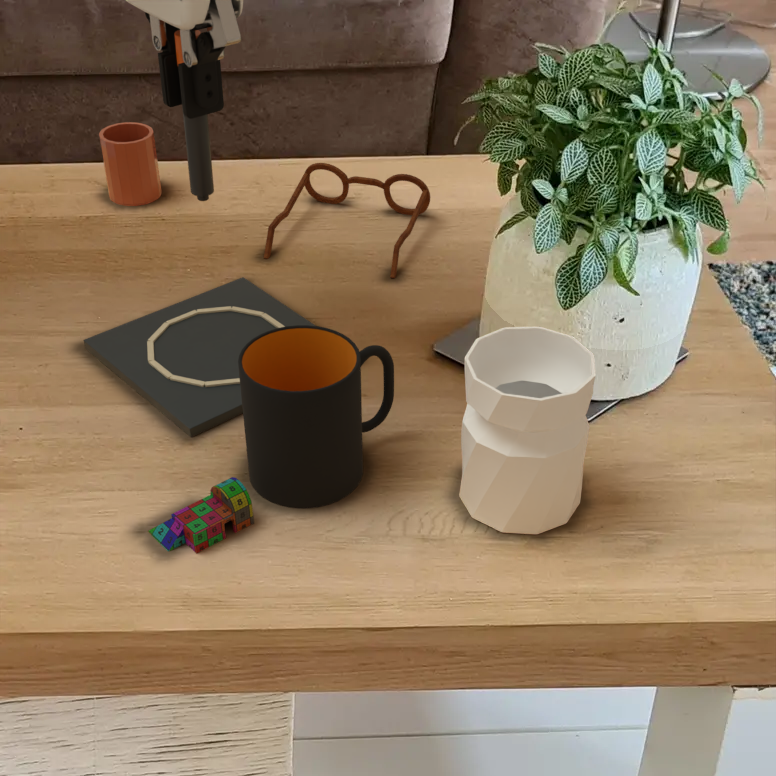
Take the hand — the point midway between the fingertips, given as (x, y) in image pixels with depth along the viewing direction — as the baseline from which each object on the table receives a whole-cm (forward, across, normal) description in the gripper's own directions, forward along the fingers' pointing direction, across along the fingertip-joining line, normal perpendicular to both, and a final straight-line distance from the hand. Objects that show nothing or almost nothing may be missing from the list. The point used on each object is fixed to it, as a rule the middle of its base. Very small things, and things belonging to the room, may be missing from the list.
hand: (193, 106), depth 87 cm
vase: (+20, +32, +4) cm, 38 cm away
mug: (+21, +20, -4) cm, 29 cm away
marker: (+8, 0, 0) cm, 8 cm away
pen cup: (+21, -27, +8) cm, 35 cm away
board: (+20, +3, -2) cm, 21 cm away
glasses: (+21, -6, +19) cm, 29 cm away
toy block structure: (+21, +20, -14) cm, 32 cm away
